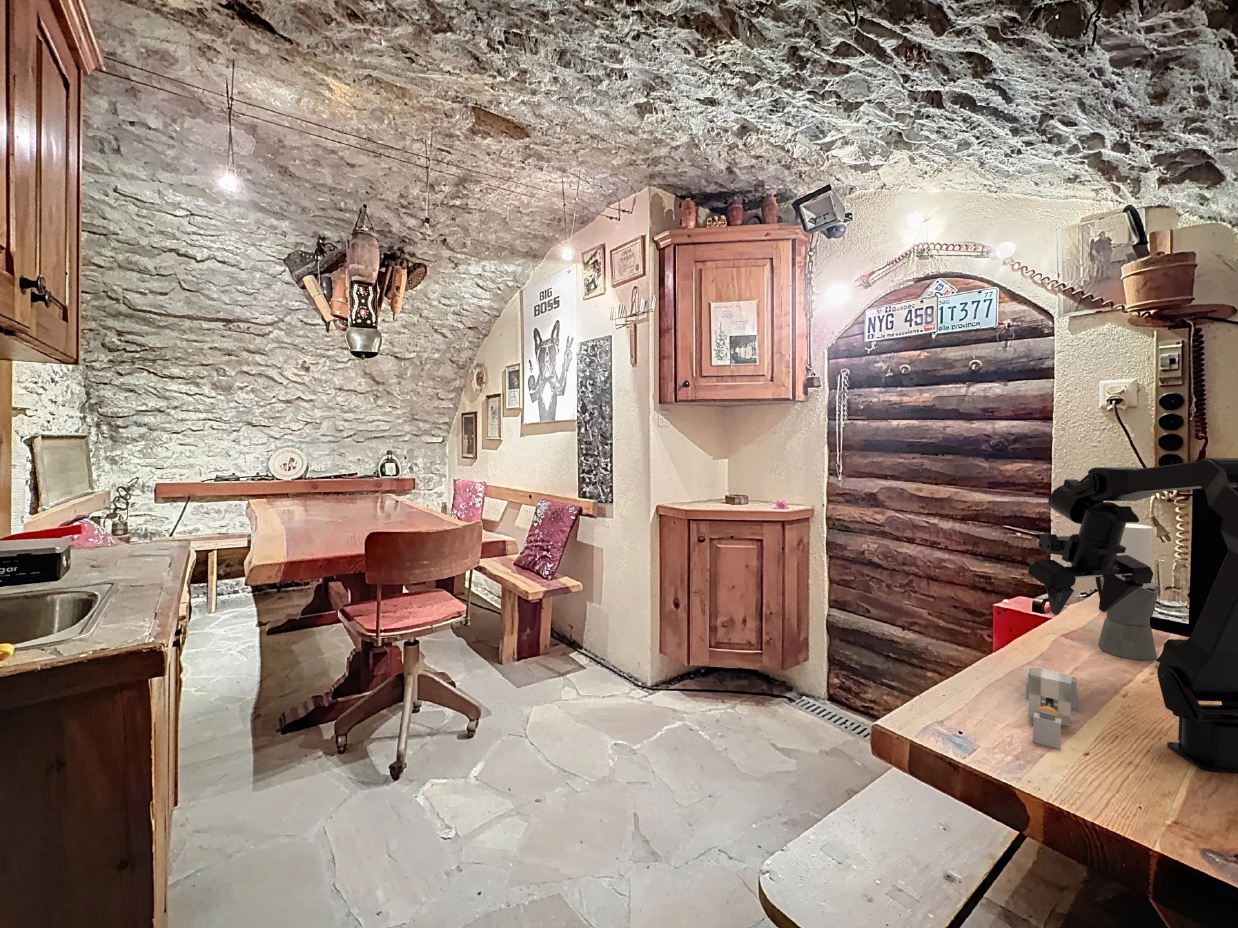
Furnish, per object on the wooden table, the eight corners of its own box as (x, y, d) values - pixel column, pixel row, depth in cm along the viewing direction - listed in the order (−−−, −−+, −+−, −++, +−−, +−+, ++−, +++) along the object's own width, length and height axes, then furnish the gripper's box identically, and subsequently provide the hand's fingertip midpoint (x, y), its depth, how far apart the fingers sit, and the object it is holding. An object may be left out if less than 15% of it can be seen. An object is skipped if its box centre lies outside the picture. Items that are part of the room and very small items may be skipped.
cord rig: (1027, 693, 100) (1027, 666, 100) (1077, 704, 96) (1078, 676, 96) (1017, 737, 86) (1018, 705, 86) (1077, 753, 81) (1077, 720, 81)
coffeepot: (1178, 665, 112) (1182, 575, 111) (1127, 664, 113) (1130, 574, 112) (1118, 638, 128) (1120, 558, 127) (1073, 637, 128) (1075, 558, 128)
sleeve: (1030, 706, 94) (1031, 666, 93) (1070, 716, 90) (1071, 674, 90) (1028, 716, 91) (1029, 674, 90) (1070, 726, 87) (1071, 683, 87)
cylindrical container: (1100, 632, 132) (1103, 524, 130) (1117, 627, 135) (1120, 522, 133) (1138, 641, 125) (1142, 529, 124) (1155, 636, 128) (1159, 526, 127)
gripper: (1109, 513, 107) (1089, 585, 113) (1015, 519, 106) (998, 591, 111) (1167, 540, 97) (1141, 618, 102) (1063, 547, 96) (1042, 625, 101)
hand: (1078, 612), depth 104 cm, fingers open, 9 cm apart
